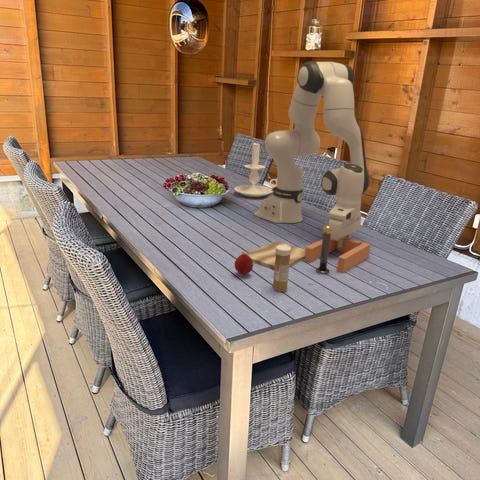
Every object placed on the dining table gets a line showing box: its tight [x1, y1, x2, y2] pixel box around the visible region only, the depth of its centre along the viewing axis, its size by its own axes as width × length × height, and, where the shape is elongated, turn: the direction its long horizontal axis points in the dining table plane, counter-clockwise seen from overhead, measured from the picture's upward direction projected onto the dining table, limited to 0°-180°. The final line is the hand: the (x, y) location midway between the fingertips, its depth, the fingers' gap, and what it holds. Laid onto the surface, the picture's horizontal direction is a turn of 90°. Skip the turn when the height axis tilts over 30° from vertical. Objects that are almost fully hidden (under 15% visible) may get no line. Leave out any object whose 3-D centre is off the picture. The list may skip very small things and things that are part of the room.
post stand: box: [315, 224, 332, 275], centre depth 149 cm, size 4×4×16 cm
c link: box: [303, 237, 372, 274], centre depth 162 cm, size 20×15×5 cm
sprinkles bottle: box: [272, 245, 291, 292], centre depth 135 cm, size 5×5×13 cm
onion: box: [234, 251, 254, 277], centre depth 144 cm, size 6×6×8 cm
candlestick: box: [234, 142, 277, 198], centre depth 240 cm, size 21×25×28 cm
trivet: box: [246, 240, 306, 270], centre depth 162 cm, size 16×21×1 cm
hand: (342, 245), depth 170 cm, fingers closed on c link, 2 cm apart
